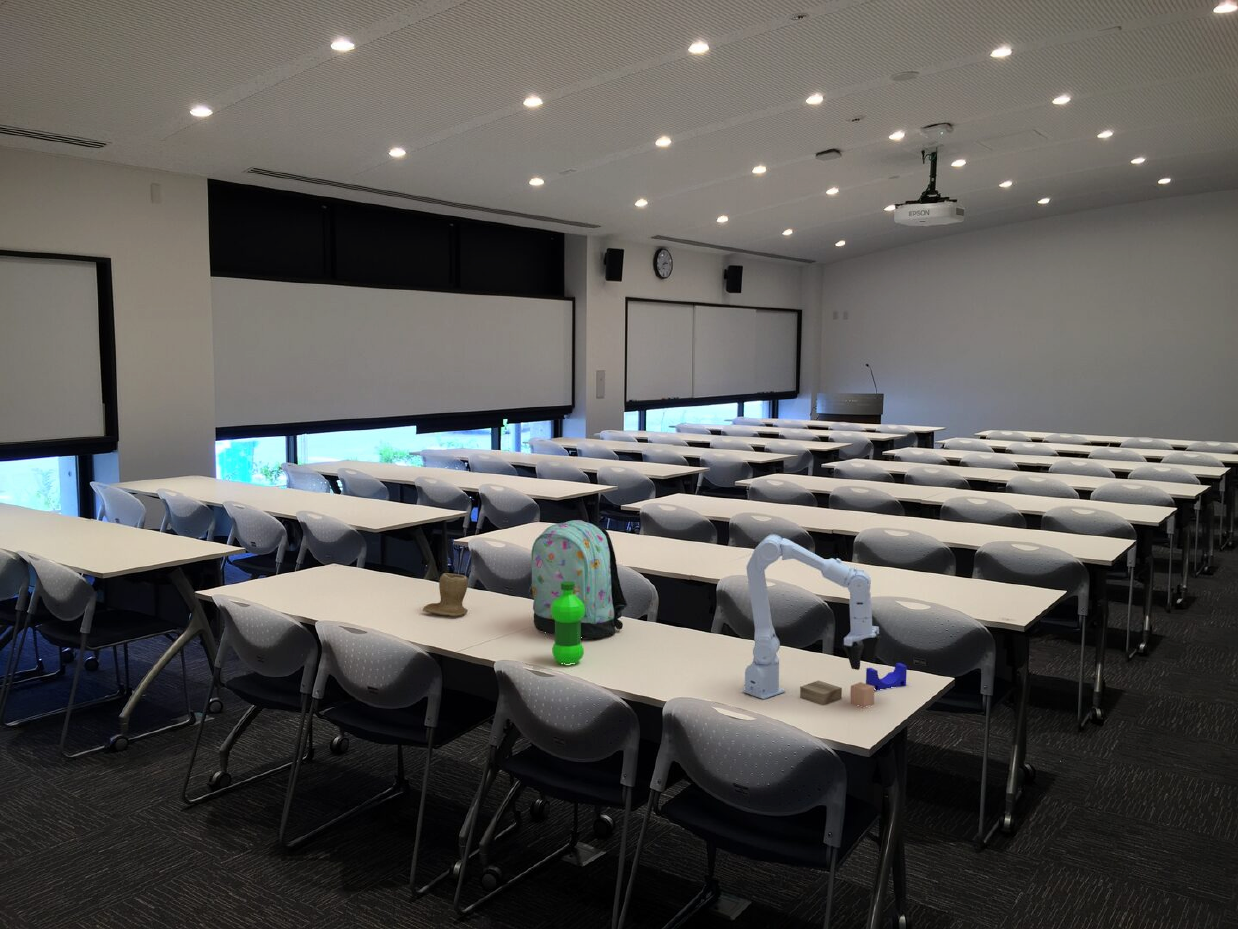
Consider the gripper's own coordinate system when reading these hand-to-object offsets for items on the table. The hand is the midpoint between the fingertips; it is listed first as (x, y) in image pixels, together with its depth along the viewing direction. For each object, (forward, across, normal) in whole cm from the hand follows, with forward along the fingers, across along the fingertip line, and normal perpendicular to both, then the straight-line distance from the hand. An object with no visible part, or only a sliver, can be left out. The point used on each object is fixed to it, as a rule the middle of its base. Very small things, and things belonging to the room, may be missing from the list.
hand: (863, 665), depth 257 cm
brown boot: (0, -30, +154) cm, 157 cm away
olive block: (+9, -6, +10) cm, 15 cm away
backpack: (+3, -13, +104) cm, 105 cm away
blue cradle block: (+11, +16, +3) cm, 19 cm away
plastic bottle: (+4, -36, +81) cm, 89 cm away
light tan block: (+10, -1, 0) cm, 10 cm away
